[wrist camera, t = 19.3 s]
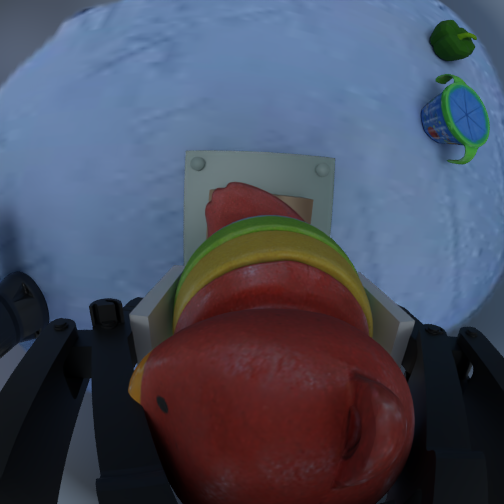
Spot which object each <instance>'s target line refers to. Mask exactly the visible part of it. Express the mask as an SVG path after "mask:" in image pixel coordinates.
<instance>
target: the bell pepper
mask: <svg viewBox="0 0 504 504" xmlns="http://www.w3.org/2000/svg"><path fill="white" fill-rule="evenodd" d="M471 38H473V39H474V40H477V37H476V36H475V35H474V34H471V33H468V32H467V31H466V30H465V29H464V28H459V26H458V25H457V24H456V22H455V21H454V20H446V21H441V22H440V23H439V24H438V25H437V26H436V27H435V29H434V31H433V33H432V35H431V37H430V42H431V44H432V45H433V46H434V47H433V49H434V51H435V53H436V55H438V56H439V57H440V58H441V59H444V60H446V61H454V60H459V59H464V58H466V57H468V56H469V55H471V54H472V52H473V50H474V48H475V45H474V44H473V42H472V40H471Z"/></svg>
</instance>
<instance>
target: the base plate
mask: <svg viewBox="0 0 504 504" xmlns="http://www.w3.org/2000/svg"><path fill="white" fill-rule="evenodd" d="M334 171H335V158H328V157H319V156H309V155H297V154H285V153H269V152H249V151H186V157H185V182H184V266H186V264H187V262H188V261H189V259H190V257H191V256H192V255H193V253H194V252H195V251H196V250H197V249H198V247H199V246H200V245H201V244H202V243H203V242H204V241H205V240H206V231H207V222H206V217H205V208H206V205H207V203H208V202H209V190H211V189H217V188H225V187H226V186H227V184H228V183H230V182H242V183H246V184H249V185H252V186H255V187H258V188H260V189H262V190H265V191H267V192H269V193H271V194H276V195H285V196H294V197H303V198H308V199H313V209H312V217H311V225H312V226H314V227H316V228H318V229H319V230H321V231H322V232H324V233H325V234H326V235H328V236H329V237H330V231H331V219H332V206H333V190H334Z"/></svg>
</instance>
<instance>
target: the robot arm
mask: <svg viewBox="0 0 504 504" xmlns="http://www.w3.org/2000/svg"><path fill="white" fill-rule="evenodd" d="M184 268H185V266H178V265H174V266H173V267H172V268H171V269H170V270H169V271H168V272H167V273H166V274H165V275H164V276H163V277H162V279H161V280H160V281H159V282H158V283H157V284H156V285H155V286H154V287H153V288H152V289H151V291H150V292H149V293H148V294H147V295H146V296H145V297H144V298H140V297H137V298H135V299H133V300H131V301H129V302H128V303H127V304H126V305H125V306H124V307H122V303H121V301H119V300H117V299H112V298H105V299H99V300H97V301H94V302H93V303H91V304H90V306H89V309H90V315H91V320H92V325H93V330H77V328H76V323H75V322H74V321H73V320H71V319H66V318H65V319H63V318H59V319H55V320H54V321H52V322H50V323H49V315H48V309H47V305H46V302H45V299H44V297H43V295H42V293H41V291H40V289H39V288H38V286H37V285H36V284H35V282H34V281H33V280H32V279H31V278H30V277H29V276H27V275H26V274H24V273H22V272H14V273H12V274H10V275H8V276H7V277H5V278H4V280H3V281H2V282H1V283H0V358H1V357H2V356H4V355H5V354H6V353H7V352H8V351H10V350H11V349H12V348H13V347H14V346H15V345H17V344H18V343H20V342H24V341H28V340H32V339H36V338H37V339H36V341H35V342H34V343H33V345H32V346H31V347H30V349H29V350H28V351H27V353H26V354H25V356H24V357H23V359H22V360H21V361H20V363H19V364H18V366H17V367H16V369H15V370H14V371H13V373H12V374H11V376H10V378H9V379H8V381H7V382H6V384H5V385H4V387H3V388H2V390H1V392H0V504H57V502H58V495H59V490H60V484H61V480H62V475H63V470H64V466H65V461H66V457H67V453H68V449H69V445H70V441H71V437H72V434H73V430H74V427H75V423H76V420H77V417H78V413H79V410H80V407H81V404H82V400H83V397H84V394H85V391H86V388H87V386H88V383H89V380H90V378H92V405H93V419H94V430H95V439H96V447H97V455H98V462H99V468H100V474H101V476H100V478H98V479H96V491H97V496H98V501H99V504H178V503H177V501H176V498H175V496H174V494H173V491H172V489H171V487H170V484H169V482H168V479H167V477H166V474H165V472H164V470H163V467H162V465H161V462H160V459H159V456H158V454H157V451H156V448H155V445H154V442H153V439H152V436H151V433H150V429H149V426H148V423H147V420H146V416H145V413H144V409H143V406H142V405H140V404H139V403H138V402H136V401H135V400H134V399H133V398H132V397H131V396H130V394H129V392H128V385H129V381H130V379H131V377H132V374H133V372H134V369H133V368H134V367H135V365H136V363H137V366H138V365H139V363H140V362H141V360H142V359H143V358H144V357H145V356H146V355H147V354H148V353H149V352H151V351H152V350H153V349H154V348H155V347H156V346H158V345H159V344H160V343H162V342H163V341H165V340H166V339H168V338H169V337H171V336H172V335H173V332H172V328H173V308H174V300H175V295H176V290H177V286H178V283H179V280H180V277H181V275H182V272H183V270H184ZM357 273H358V276H359V278H360V281H361V283H362V285H363V287H364V290H365V292H366V295H367V298H368V300H369V304H370V308H371V312H372V319H373V337H372V338H373V339H374V340H375V341H376V342H377V343H379V344H380V345H381V346H382V347H383V348H384V349H385V350H386V351H387V352H388V353H389V354H390V355H391V357H392V358H393V359H394V361H395V362H396V363H397V365H398V366H399V368H401V365H402V366H403V367H404V368H405V370H406V371H405V373H404V377H405V379H406V381H407V384H408V386H409V389H410V393H411V396H412V400H413V407H414V418H415V426H414V437H413V442H412V447H411V451H410V454H409V457H408V459H407V462H406V464H405V466H404V468H403V470H402V472H401V474H400V476H399V477H398V479H397V480H396V482H395V483H394V485H393V486H392V487H391V489H390V490H389V491H388V493H387V497H386V500H385V502H384V503H380V504H504V358H503V356H502V355H501V354H500V353H499V352H498V351H497V349H496V348H495V347H494V346H493V345H492V344H491V343H490V341H489V340H488V339H487V338H486V337H485V336H484V335H483V334H482V333H481V332H480V331H478V330H477V329H476V328H473V327H462V328H460V331H459V334H458V337H450V336H447V334H446V332H445V330H444V329H443V328H441V327H439V326H436V325H432V324H424V325H423V324H422V323H421V322H420V321H419V320H418V319H417V318H415V317H414V316H413V315H412V314H410V312H409V311H408V310H406V309H405V308H403V307H401V306H399V305H397V304H396V303H395V302H394V301H392V300H391V299H390V298H389V297H388V296H387V295H386V294H384V293H383V292H382V291H381V290H380V289H379V288H378V287H376V286H375V285H374V284H373V283H372V282H371V281H369V280H368V279H367V278H366V277H365V276H364V275H362V274H361V273H360V272H357ZM48 323H49V324H48ZM472 365H473V375H472V377H471V378H469V376H468V373H469V372H470V369H471V367H472Z"/></svg>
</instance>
